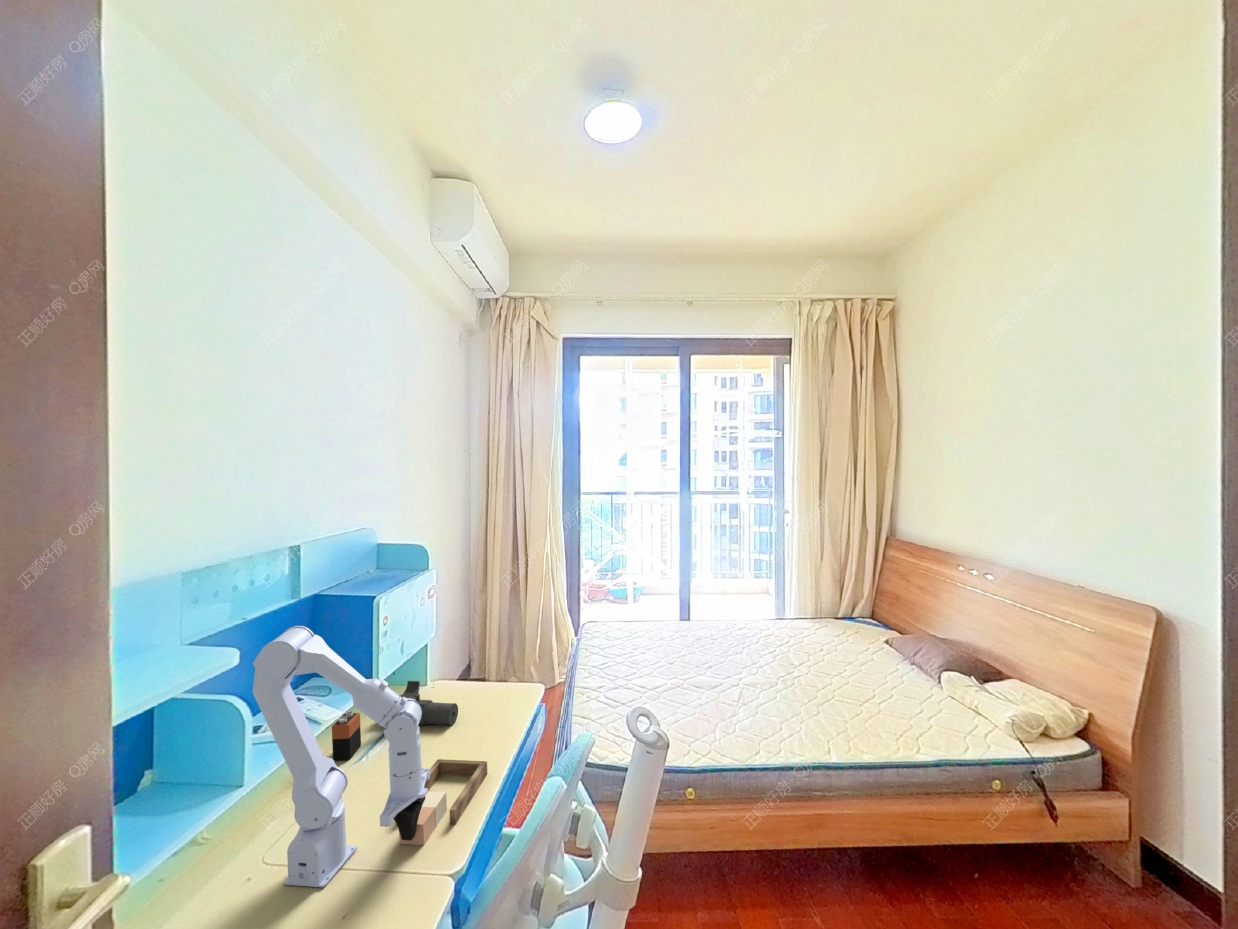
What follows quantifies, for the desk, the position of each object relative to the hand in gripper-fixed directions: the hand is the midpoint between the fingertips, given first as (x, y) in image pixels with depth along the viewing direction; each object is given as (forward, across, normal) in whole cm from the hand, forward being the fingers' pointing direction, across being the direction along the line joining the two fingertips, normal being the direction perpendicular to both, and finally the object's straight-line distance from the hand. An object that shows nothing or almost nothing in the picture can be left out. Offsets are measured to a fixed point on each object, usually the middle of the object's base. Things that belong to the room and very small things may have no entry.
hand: (408, 838), depth 100 cm
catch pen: (+2, +15, 0) cm, 15 cm away
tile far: (+2, +9, 0) cm, 9 cm away
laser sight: (+2, +47, +24) cm, 53 cm away
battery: (+2, +30, +34) cm, 46 cm away
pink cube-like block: (+2, +4, 0) cm, 4 cm away
